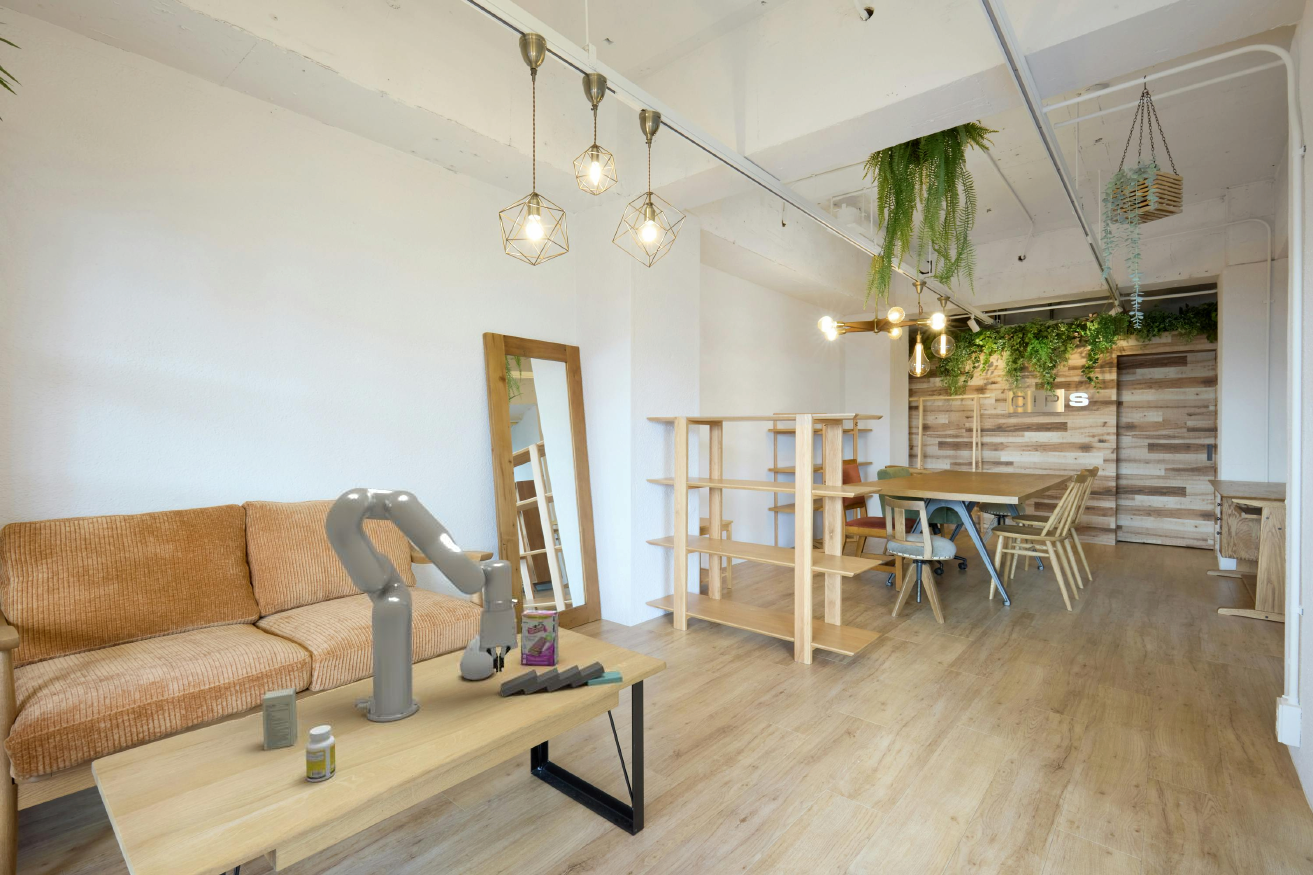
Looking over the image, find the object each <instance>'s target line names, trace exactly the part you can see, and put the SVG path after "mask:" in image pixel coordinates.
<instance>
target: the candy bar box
mask: <svg viewBox="0 0 1313 875" xmlns="http://www.w3.org/2000/svg"><path fill="white" fill-rule="evenodd" d="M558 662H559V611H558V610H539V609H538V610H537V609H532V610H531V609H525V610H524V611H523V612H522V613H521V614H520V664H521V666H544V667H545V666H547V667H548V666H550V667H551V666H552V667H554V666H556V665H557V663H558Z"/></svg>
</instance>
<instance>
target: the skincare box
mask: <svg viewBox="0 0 1313 875" xmlns="http://www.w3.org/2000/svg"><path fill="white" fill-rule="evenodd" d="M261 699H262V701H261V702H262V704H261V705H262V727H263V728H262V729H263V750H264V751H268V750H274V749H279V748H285V747H291V746H294V745H295V744H296V742H297V739H298V718H297V717H298V716H297V714H298V713H297V691H296V687H290V688H289V687H288V688H282V689H277V690H271V691H266V693H265V694H264V695H263V697H262V698H261Z"/></svg>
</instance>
